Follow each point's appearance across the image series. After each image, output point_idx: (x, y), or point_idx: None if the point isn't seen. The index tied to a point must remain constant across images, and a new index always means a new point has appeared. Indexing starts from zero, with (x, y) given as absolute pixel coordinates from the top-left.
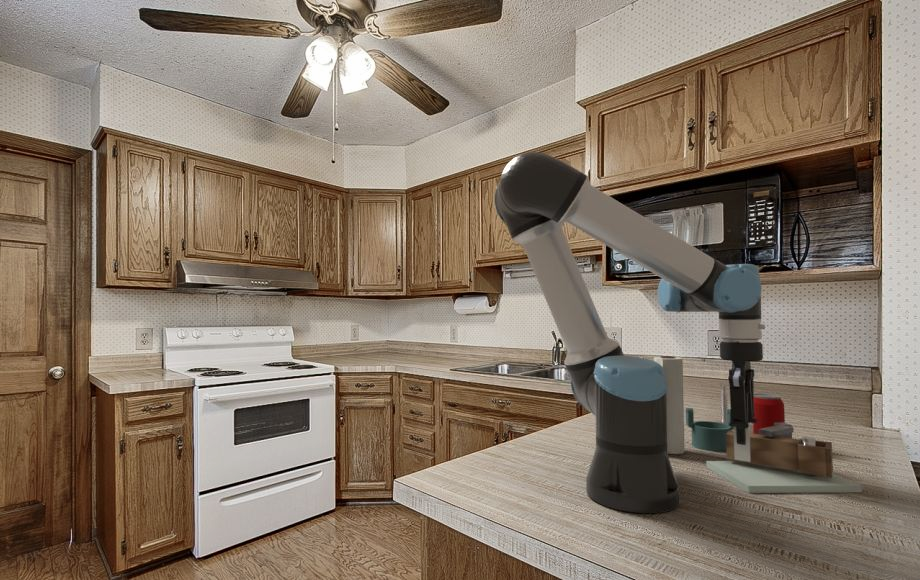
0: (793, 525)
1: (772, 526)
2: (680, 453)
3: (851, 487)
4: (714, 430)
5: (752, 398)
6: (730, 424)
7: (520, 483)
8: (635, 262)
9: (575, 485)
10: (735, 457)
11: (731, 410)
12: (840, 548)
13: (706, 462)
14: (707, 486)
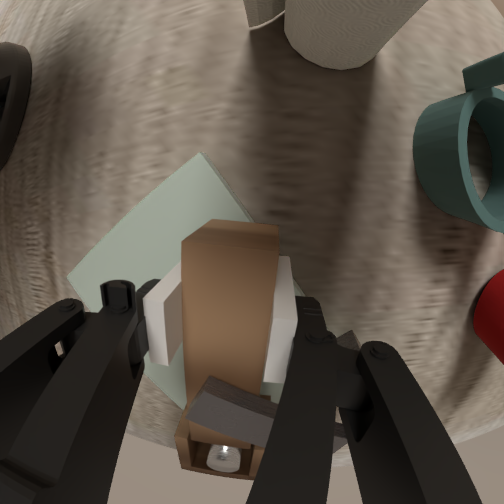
0: (23, 319)
1: (8, 295)
2: (309, 60)
3: None
4: (457, 167)
5: (364, 495)
6: (105, 290)
7: (7, 4)
8: None
9: (7, 38)
10: None
11: (8, 338)
12: None
13: (200, 152)
14: (61, 192)
